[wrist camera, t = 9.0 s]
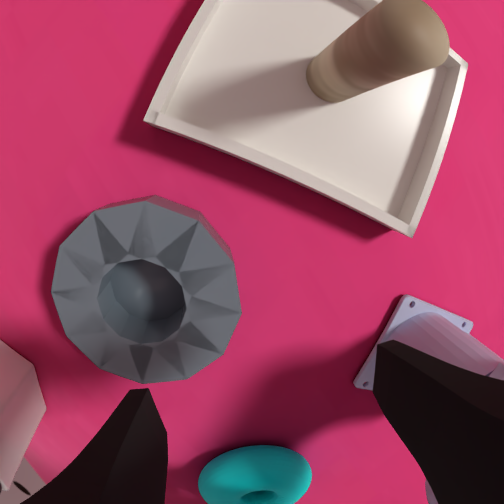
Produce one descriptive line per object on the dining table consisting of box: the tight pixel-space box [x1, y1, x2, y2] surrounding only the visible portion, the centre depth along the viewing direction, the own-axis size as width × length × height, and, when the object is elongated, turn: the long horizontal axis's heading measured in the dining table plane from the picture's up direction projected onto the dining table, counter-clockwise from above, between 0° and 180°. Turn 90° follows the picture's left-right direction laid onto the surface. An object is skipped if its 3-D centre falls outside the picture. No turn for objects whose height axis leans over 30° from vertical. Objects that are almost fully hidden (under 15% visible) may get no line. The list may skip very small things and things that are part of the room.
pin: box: [306, 0, 450, 103], centre depth 12 cm, size 3×3×8 cm
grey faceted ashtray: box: [51, 195, 242, 384], centre depth 17 cm, size 10×10×3 cm
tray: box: [143, 0, 468, 238], centre depth 16 cm, size 16×13×2 cm
